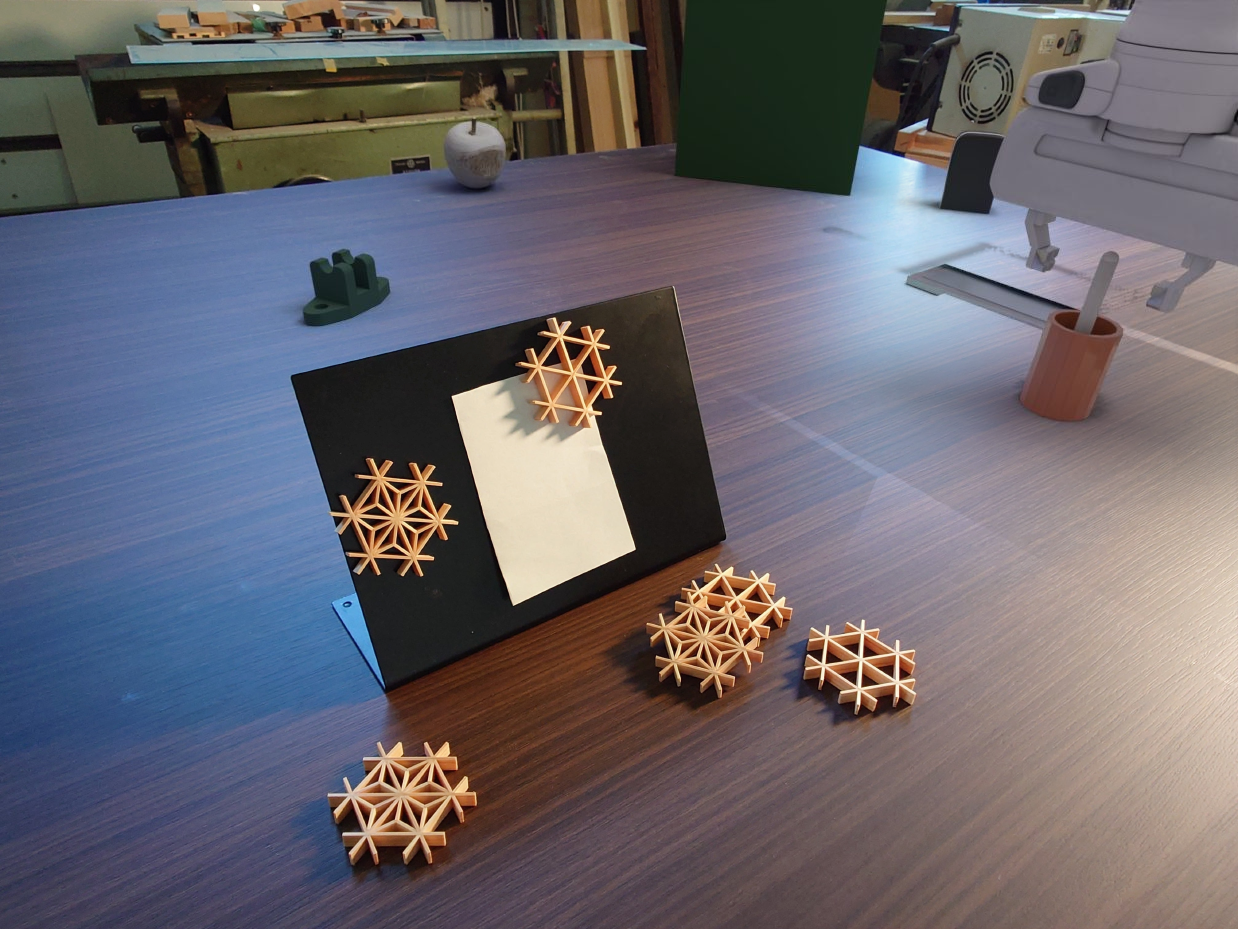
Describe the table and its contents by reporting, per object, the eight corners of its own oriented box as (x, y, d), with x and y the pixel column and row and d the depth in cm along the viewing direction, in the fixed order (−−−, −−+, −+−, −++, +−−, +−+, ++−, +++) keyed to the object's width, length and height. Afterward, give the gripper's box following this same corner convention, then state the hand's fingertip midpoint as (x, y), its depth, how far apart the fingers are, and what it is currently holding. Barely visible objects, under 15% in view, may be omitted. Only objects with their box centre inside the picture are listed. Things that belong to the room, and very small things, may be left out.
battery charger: (986, 216, 114) (1011, 131, 108) (988, 224, 111) (1013, 136, 104) (934, 211, 116) (956, 126, 109) (935, 218, 112) (957, 131, 106)
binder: (673, 176, 127) (689, -68, 109) (692, 155, 138) (710, -69, 121) (850, 195, 121) (898, -60, 103) (854, 171, 133) (898, -61, 115)
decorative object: (480, 176, 124) (475, 105, 118) (519, 187, 119) (517, 115, 113) (434, 187, 118) (427, 113, 112) (473, 199, 113) (468, 124, 108)
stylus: (1064, 405, 68) (1124, 252, 60) (1057, 409, 67) (1117, 255, 60) (1051, 399, 69) (1108, 247, 61) (1043, 403, 68) (1101, 250, 61)
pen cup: (1099, 414, 68) (1136, 327, 63) (1066, 434, 65) (1103, 343, 61) (1038, 389, 71) (1069, 304, 67) (1005, 406, 69) (1035, 319, 64)
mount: (369, 284, 87) (362, 238, 84) (402, 292, 85) (396, 245, 82) (292, 320, 79) (281, 270, 76) (326, 330, 77) (317, 279, 74)
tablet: (1132, 305, 88) (1135, 296, 88) (1057, 340, 80) (1060, 331, 79) (983, 256, 100) (986, 249, 99) (905, 283, 92) (907, 274, 91)
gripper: (1372, 117, 49) (1262, 326, 57) (1053, 68, 63) (999, 243, 70) (1337, 127, 46) (1226, 347, 54) (1009, 73, 59) (958, 256, 67)
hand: (1096, 287), depth 62 cm, fingers open, 8 cm apart
